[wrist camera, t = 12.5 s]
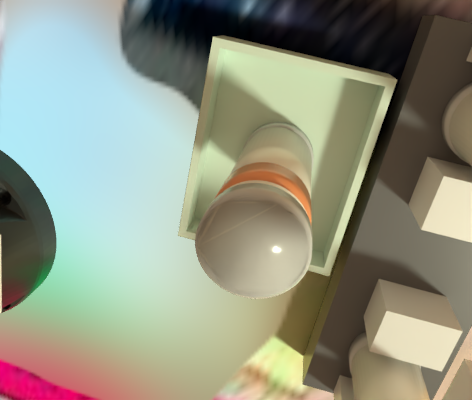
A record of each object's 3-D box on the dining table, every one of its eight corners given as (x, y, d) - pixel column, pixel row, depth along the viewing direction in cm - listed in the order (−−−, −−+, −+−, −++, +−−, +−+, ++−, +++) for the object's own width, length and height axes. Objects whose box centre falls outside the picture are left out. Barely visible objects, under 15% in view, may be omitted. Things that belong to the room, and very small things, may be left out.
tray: (189, 217, 33) (177, 235, 30) (223, 35, 28) (212, 36, 25) (327, 254, 32) (329, 276, 29) (389, 74, 27) (397, 79, 24)
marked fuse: (237, 179, 30) (186, 281, 18) (252, 113, 28) (206, 180, 17) (303, 196, 30) (294, 311, 18) (322, 131, 28) (326, 211, 16)
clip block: (303, 356, 36) (301, 423, 30) (422, 15, 26) (455, 13, 20) (414, 387, 35) (434, 462, 29) (582, 51, 25) (666, 60, 19)
